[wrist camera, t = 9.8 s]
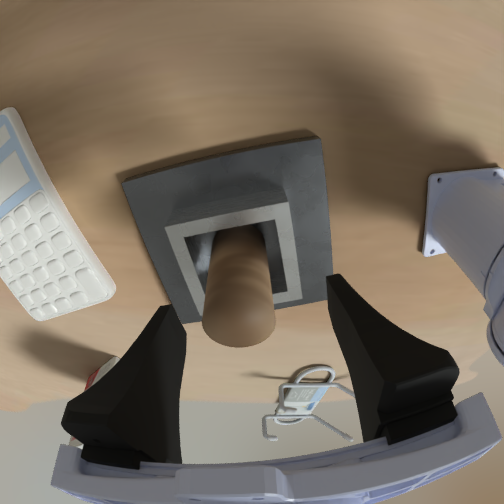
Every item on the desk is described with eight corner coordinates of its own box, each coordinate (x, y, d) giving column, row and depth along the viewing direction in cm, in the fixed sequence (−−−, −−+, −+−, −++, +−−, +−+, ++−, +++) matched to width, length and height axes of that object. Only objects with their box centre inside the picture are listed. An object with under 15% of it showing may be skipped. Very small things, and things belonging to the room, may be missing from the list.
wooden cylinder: (260, 218, 22) (269, 290, 15) (269, 263, 24) (280, 341, 17) (206, 228, 22) (192, 303, 15) (219, 272, 24) (213, 351, 18)
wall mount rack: (284, 361, 33) (289, 405, 28) (384, 363, 35) (397, 399, 30) (256, 419, 41) (257, 453, 36) (337, 418, 43) (344, 449, 38)
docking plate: (316, 135, 20) (330, 147, 17) (331, 291, 27) (340, 317, 24) (125, 178, 21) (108, 197, 18) (183, 316, 28) (178, 344, 25)
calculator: (42, 314, 29) (35, 326, 27) (-48, 173, 19) (-59, 180, 17) (122, 287, 27) (116, 300, 25) (17, 99, 16) (3, 103, 15)
